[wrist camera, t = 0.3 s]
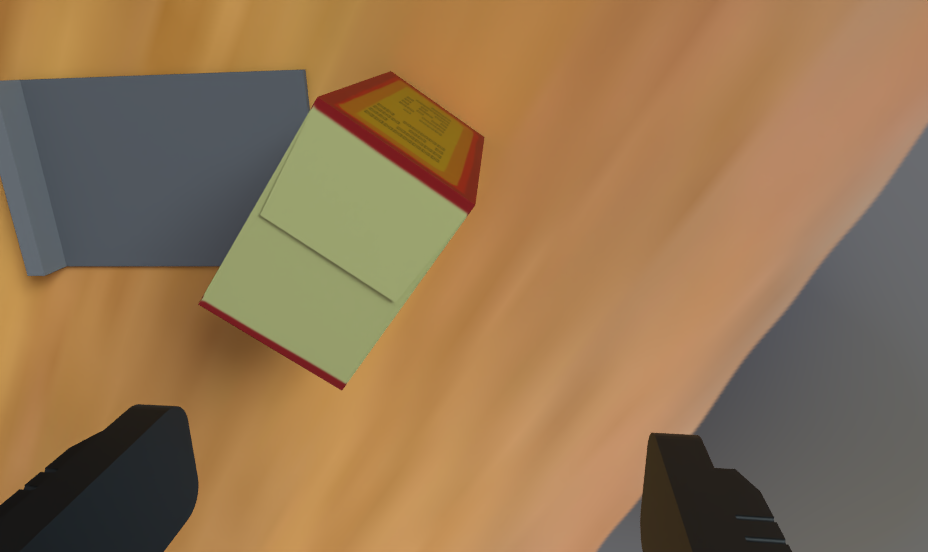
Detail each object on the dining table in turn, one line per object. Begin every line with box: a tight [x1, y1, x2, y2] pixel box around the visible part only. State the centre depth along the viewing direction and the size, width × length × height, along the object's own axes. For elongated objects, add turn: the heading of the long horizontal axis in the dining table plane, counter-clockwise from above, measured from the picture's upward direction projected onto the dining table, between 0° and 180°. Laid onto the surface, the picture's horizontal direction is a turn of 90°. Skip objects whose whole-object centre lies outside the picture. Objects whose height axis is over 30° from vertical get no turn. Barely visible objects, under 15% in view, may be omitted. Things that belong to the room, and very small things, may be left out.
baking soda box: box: [198, 71, 484, 390], centre depth 30 cm, size 10×6×16 cm
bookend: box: [0, 70, 310, 276], centre depth 39 cm, size 12×19×2 cm, turn 92°
